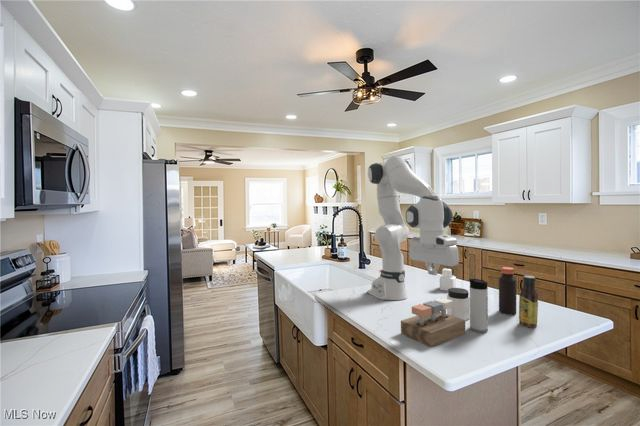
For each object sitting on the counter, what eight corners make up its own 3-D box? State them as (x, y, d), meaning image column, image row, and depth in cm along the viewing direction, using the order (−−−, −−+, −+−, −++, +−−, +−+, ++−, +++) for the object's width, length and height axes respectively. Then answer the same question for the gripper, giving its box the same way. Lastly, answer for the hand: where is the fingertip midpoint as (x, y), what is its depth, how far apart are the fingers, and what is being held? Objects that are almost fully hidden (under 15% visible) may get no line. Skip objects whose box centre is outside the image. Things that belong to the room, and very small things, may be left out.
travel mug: (465, 326, 126) (465, 277, 126) (481, 326, 127) (481, 276, 126) (474, 333, 120) (474, 281, 119) (491, 332, 121) (491, 280, 120)
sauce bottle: (515, 322, 130) (515, 274, 129) (530, 321, 130) (531, 274, 129) (525, 328, 124) (525, 278, 123) (541, 328, 123) (541, 278, 123)
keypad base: (401, 333, 122) (400, 320, 121) (434, 321, 132) (434, 310, 132) (431, 347, 110) (431, 333, 110) (465, 333, 121) (465, 320, 120)
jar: (460, 323, 130) (460, 294, 130) (443, 317, 137) (443, 290, 137) (473, 318, 135) (473, 290, 135) (455, 312, 142) (455, 286, 142)
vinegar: (500, 314, 139) (500, 269, 138) (497, 309, 146) (497, 266, 145) (518, 315, 137) (518, 270, 136) (514, 310, 143) (514, 267, 142)
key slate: (423, 322, 122) (423, 303, 121) (431, 319, 124) (431, 300, 124) (434, 326, 118) (434, 306, 117) (442, 323, 120) (442, 304, 120)
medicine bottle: (443, 287, 184) (442, 266, 184) (456, 288, 180) (455, 267, 179) (439, 290, 178) (439, 268, 178) (453, 291, 174) (452, 270, 174)
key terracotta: (411, 326, 118) (411, 306, 118) (420, 323, 121) (420, 304, 121) (422, 330, 114) (422, 310, 114) (431, 327, 117) (431, 307, 116)
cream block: (434, 318, 125) (434, 300, 125) (442, 316, 128) (442, 297, 128) (445, 322, 121) (445, 303, 121) (453, 319, 124) (453, 300, 123)
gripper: (405, 237, 127) (405, 271, 127) (450, 241, 110) (451, 280, 110) (415, 235, 130) (416, 269, 131) (461, 239, 113) (461, 278, 113)
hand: (432, 274), depth 120 cm, fingers closed
